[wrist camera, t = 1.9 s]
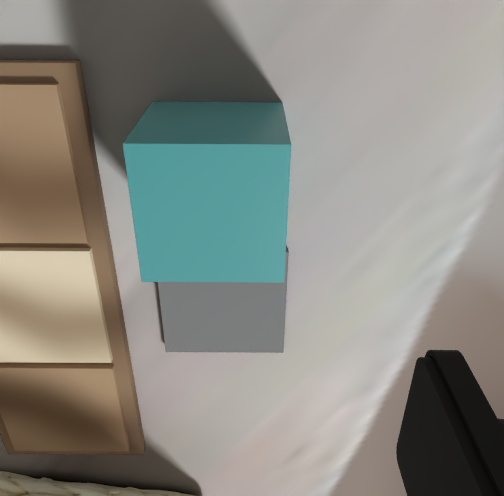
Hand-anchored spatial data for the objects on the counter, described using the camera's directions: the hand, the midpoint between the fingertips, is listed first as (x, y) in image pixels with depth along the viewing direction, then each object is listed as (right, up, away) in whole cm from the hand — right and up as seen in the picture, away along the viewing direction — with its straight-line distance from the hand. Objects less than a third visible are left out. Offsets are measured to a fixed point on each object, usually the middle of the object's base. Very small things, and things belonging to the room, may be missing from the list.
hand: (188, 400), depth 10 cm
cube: (0, +7, +10) cm, 12 cm away
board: (-9, +1, +13) cm, 16 cm away
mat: (0, +1, +13) cm, 13 cm away
